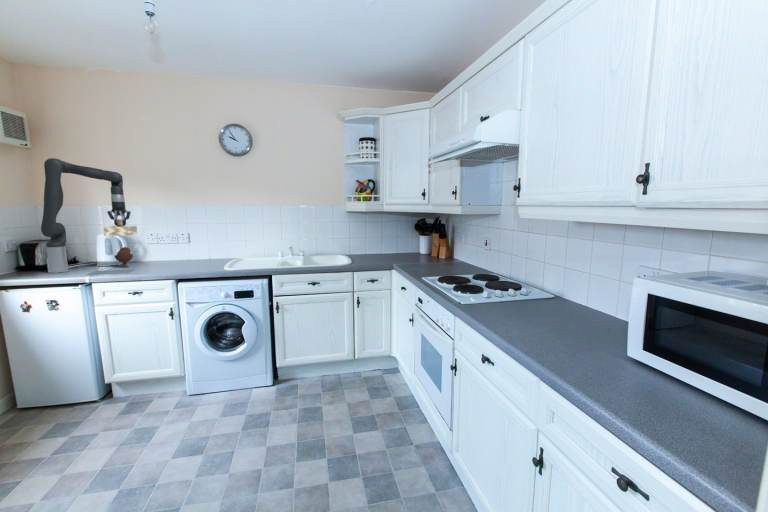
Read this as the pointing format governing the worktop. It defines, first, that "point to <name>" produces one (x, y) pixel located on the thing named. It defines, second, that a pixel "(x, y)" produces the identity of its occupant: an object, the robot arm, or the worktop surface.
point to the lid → (120, 229)
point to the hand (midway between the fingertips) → (120, 225)
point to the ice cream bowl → (124, 256)
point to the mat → (111, 272)
